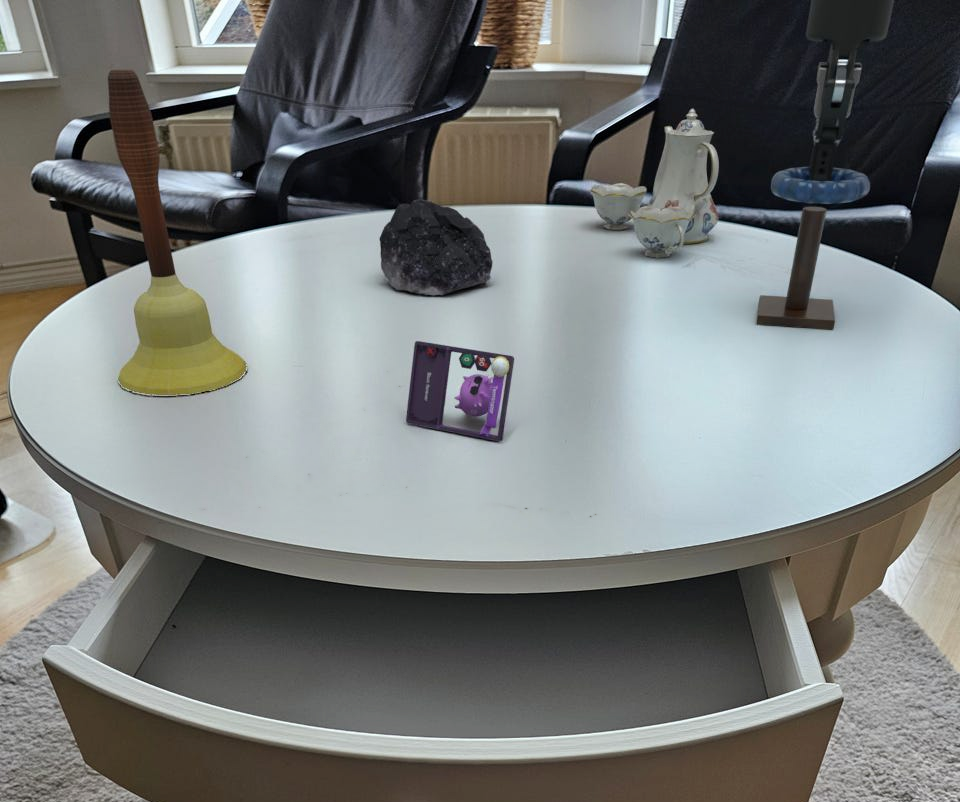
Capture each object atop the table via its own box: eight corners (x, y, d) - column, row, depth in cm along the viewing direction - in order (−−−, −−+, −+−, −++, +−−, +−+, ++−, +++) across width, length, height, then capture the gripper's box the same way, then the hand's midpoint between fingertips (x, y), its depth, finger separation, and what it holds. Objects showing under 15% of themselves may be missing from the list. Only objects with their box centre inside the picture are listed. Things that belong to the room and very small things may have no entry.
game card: (410, 340, 74) (509, 355, 71) (440, 343, 79) (534, 358, 76) (401, 422, 77) (496, 441, 73) (430, 421, 81) (521, 439, 78)
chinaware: (571, 233, 141) (566, 112, 131) (669, 214, 144) (671, 94, 134) (651, 278, 120) (652, 137, 109) (764, 254, 122) (775, 115, 112)
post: (830, 308, 103) (853, 203, 96) (833, 329, 97) (857, 218, 90) (758, 303, 105) (775, 199, 98) (756, 324, 98) (774, 214, 92)
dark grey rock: (507, 296, 111) (512, 206, 106) (401, 299, 106) (401, 205, 101) (467, 279, 121) (470, 196, 116) (370, 281, 117) (368, 195, 112)
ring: (863, 187, 96) (867, 166, 95) (870, 207, 89) (875, 184, 88) (770, 184, 98) (773, 164, 97) (769, 203, 91) (772, 181, 90)
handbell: (114, 361, 91) (41, 68, 76) (238, 346, 94) (191, 62, 80) (120, 404, 81) (38, 79, 67) (258, 386, 85) (208, 72, 70)
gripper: (905, -20, 80) (858, 196, 90) (891, -20, 90) (852, 173, 101) (815, -19, 81) (780, 193, 92) (813, -19, 92) (782, 170, 102)
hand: (818, 181), depth 96 cm, fingers closed on ring, 2 cm apart
